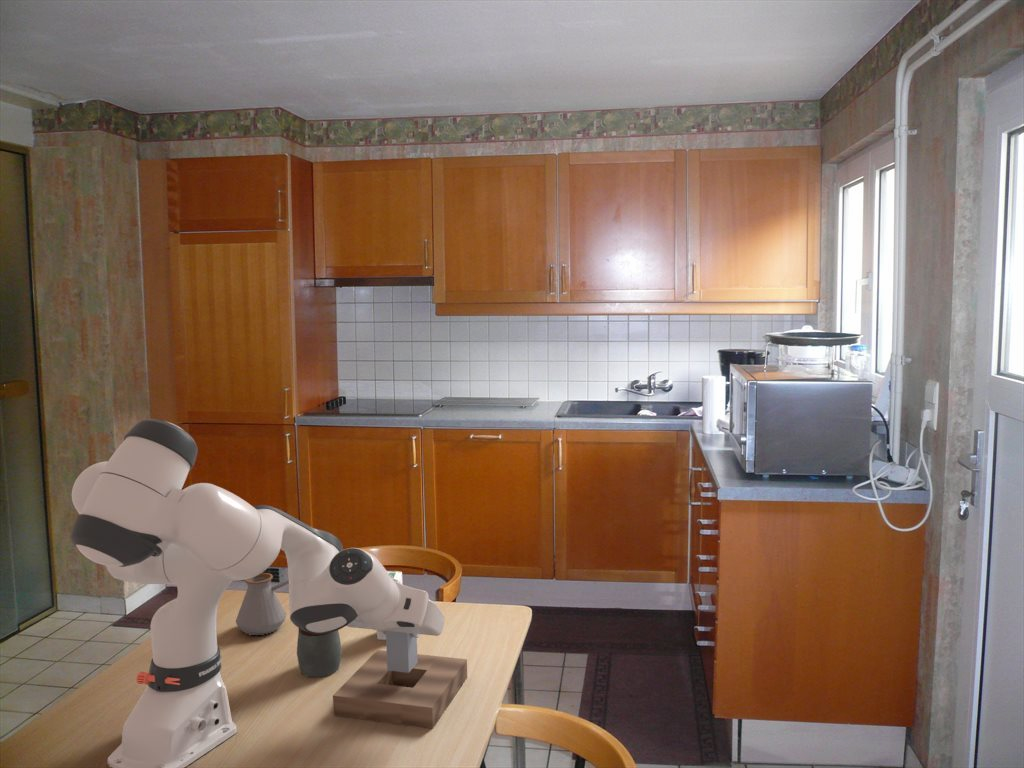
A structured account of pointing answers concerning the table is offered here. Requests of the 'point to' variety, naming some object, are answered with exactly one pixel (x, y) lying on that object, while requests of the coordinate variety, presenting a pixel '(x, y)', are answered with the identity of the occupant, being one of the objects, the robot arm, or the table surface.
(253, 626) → the coffee pot
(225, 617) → the table surface
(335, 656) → the bottle
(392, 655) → the peg
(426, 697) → the socket block
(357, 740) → the table surface
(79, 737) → the table surface
